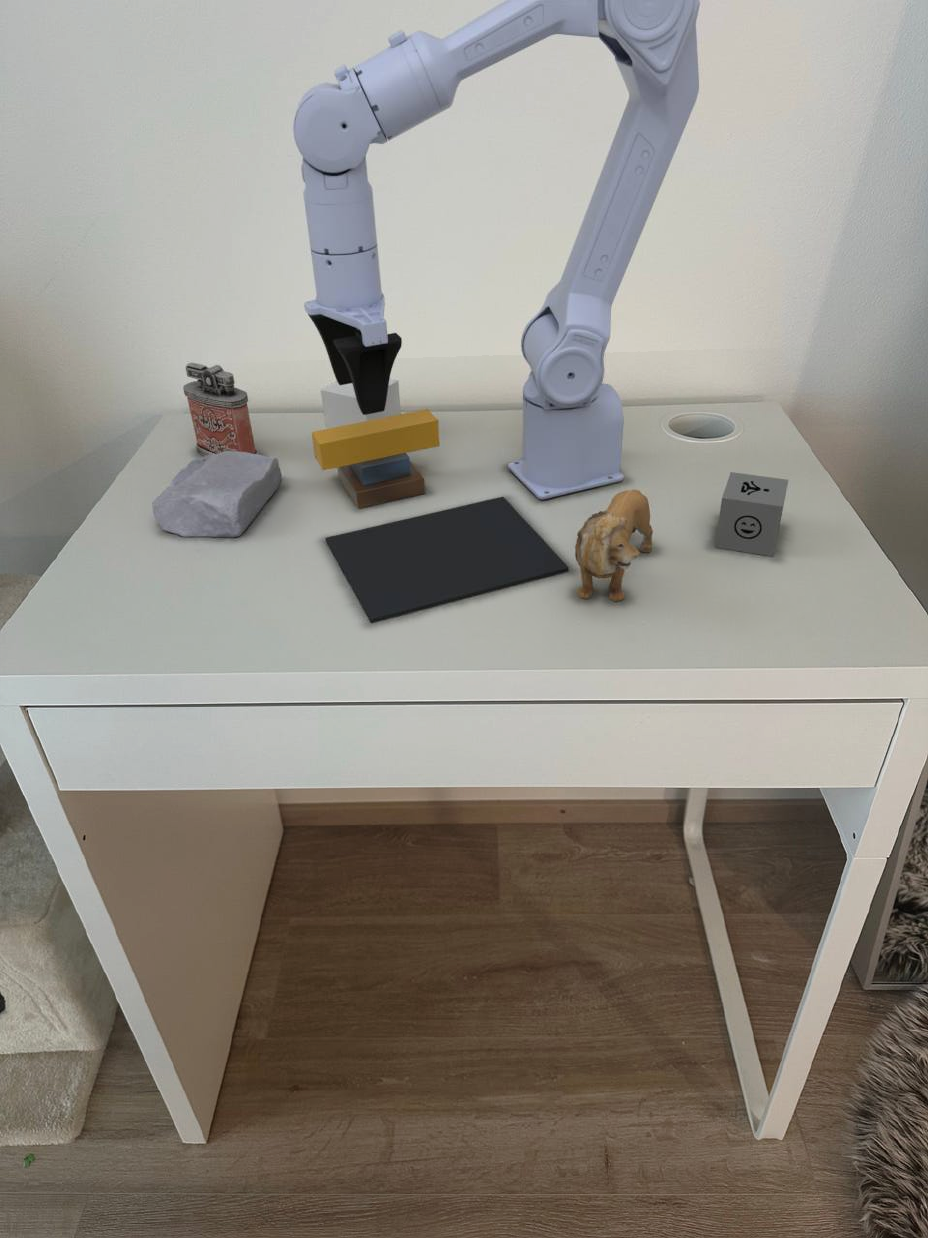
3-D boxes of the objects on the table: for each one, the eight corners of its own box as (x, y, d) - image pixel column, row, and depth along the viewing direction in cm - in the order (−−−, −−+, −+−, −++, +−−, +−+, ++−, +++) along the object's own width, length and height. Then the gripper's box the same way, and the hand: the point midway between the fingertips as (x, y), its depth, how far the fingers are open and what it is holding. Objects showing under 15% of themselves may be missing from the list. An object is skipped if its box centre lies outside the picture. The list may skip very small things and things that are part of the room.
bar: (429, 434, 95) (427, 408, 94) (439, 445, 93) (438, 419, 92) (315, 457, 92) (311, 431, 90) (323, 470, 90) (319, 444, 88)
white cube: (360, 420, 108) (354, 370, 104) (402, 431, 105) (398, 380, 102) (327, 440, 104) (320, 389, 100) (370, 452, 101) (364, 399, 98)
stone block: (155, 549, 90) (247, 539, 87) (134, 505, 87) (228, 492, 84) (208, 494, 99) (292, 483, 96) (191, 452, 97) (277, 439, 94)
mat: (503, 499, 92) (503, 496, 91) (568, 571, 81) (569, 567, 81) (325, 541, 87) (325, 537, 86) (371, 623, 76) (370, 619, 76)
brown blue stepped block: (402, 464, 99) (399, 431, 96) (425, 493, 93) (423, 459, 91) (338, 478, 97) (334, 444, 94) (358, 508, 91) (354, 474, 89)
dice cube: (723, 520, 87) (730, 471, 84) (779, 528, 86) (788, 479, 83) (714, 547, 83) (722, 497, 80) (773, 556, 82) (782, 506, 79)
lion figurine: (630, 631, 74) (639, 533, 69) (564, 621, 75) (567, 524, 70) (657, 537, 85) (666, 446, 80) (599, 529, 86) (604, 440, 81)
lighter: (266, 457, 101) (250, 368, 95) (244, 470, 99) (226, 379, 93) (212, 441, 105) (194, 354, 99) (190, 453, 102) (170, 365, 97)
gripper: (278, 233, 84) (300, 377, 92) (321, 275, 73) (341, 434, 81) (353, 222, 86) (368, 365, 94) (405, 261, 75) (417, 419, 83)
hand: (360, 396), depth 88 cm, fingers open, 7 cm apart
